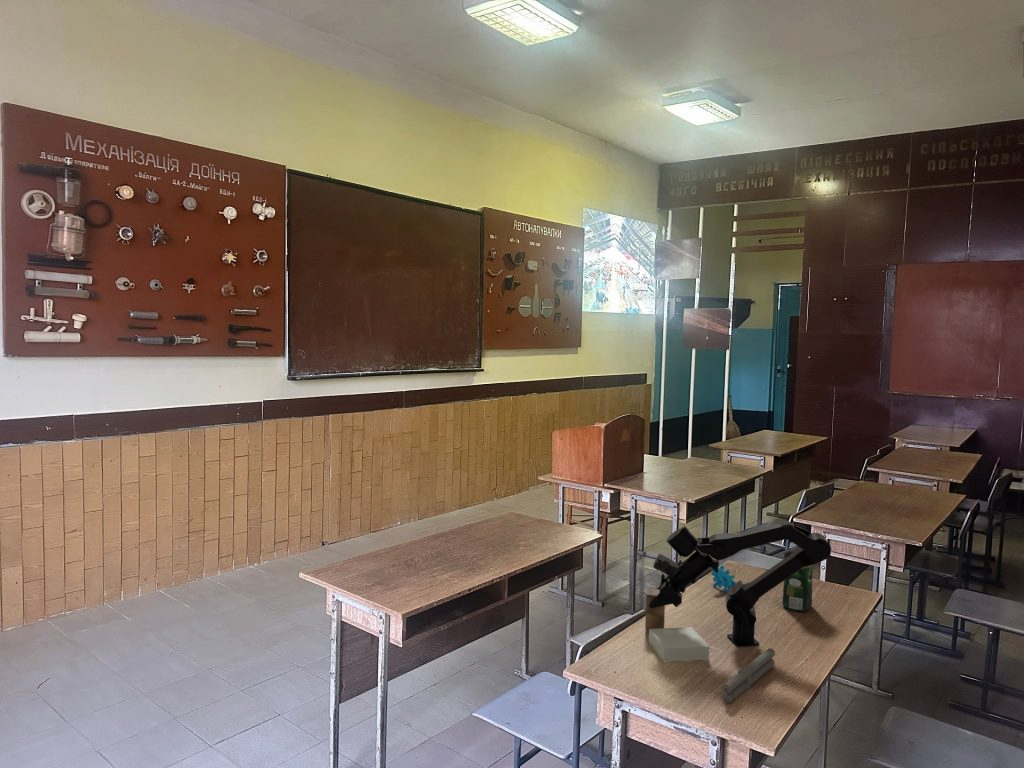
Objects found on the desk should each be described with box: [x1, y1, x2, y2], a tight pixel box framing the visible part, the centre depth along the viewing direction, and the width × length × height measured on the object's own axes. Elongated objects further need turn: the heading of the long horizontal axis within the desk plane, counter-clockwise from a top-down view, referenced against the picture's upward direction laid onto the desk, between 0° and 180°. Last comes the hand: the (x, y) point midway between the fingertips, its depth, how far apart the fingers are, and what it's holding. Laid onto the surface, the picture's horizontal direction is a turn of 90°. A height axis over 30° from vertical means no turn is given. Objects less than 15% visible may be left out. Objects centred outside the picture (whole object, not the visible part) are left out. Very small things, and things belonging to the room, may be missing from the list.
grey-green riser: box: [648, 626, 710, 662], centre depth 184 cm, size 12×12×4 cm
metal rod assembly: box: [722, 648, 776, 704], centre depth 166 cm, size 26×3×5 cm, turn 138°
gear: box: [710, 564, 737, 593], centre depth 231 cm, size 11×6×10 cm
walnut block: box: [644, 587, 666, 631], centre depth 196 cm, size 5×5×10 cm
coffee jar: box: [781, 544, 814, 612], centre depth 215 cm, size 10×8×19 cm
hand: (650, 603), depth 196 cm, fingers closed on walnut block, 5 cm apart
